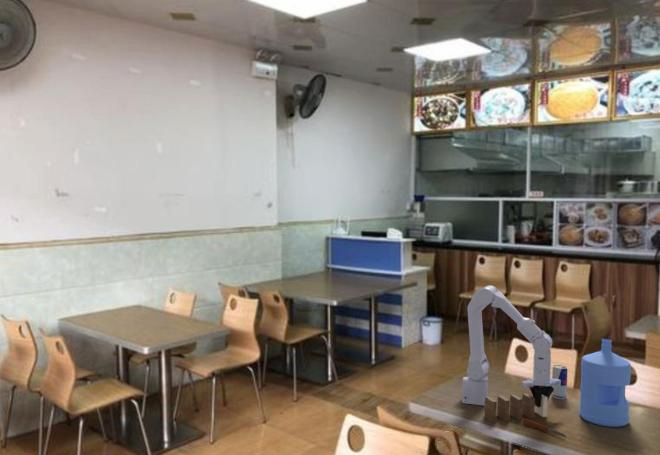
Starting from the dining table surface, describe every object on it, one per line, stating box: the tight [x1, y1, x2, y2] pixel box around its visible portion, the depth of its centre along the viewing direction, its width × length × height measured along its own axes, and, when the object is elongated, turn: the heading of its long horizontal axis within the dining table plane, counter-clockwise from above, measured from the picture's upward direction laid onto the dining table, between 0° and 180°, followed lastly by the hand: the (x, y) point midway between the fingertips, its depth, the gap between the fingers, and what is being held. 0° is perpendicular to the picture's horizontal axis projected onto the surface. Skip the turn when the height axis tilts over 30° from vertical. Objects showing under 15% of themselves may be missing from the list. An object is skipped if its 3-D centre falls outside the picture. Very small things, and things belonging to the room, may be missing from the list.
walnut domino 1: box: [484, 396, 498, 423], centre depth 192 cm, size 2×5×7 cm, turn 14°
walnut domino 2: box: [496, 395, 510, 422], centre depth 193 cm, size 2×5×7 cm, turn 14°
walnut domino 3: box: [509, 394, 523, 420], centre depth 194 cm, size 2×5×7 cm, turn 14°
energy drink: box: [551, 364, 568, 400], centre depth 214 cm, size 5×5×12 cm
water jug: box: [578, 338, 632, 428], centre depth 193 cm, size 16×16×28 cm
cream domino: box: [535, 394, 549, 418], centre depth 197 cm, size 2×5×7 cm, turn 14°
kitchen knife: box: [522, 418, 567, 438], centre depth 182 cm, size 16×1×2 cm, turn 36°
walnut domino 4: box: [521, 393, 536, 419], centre depth 195 cm, size 2×5×7 cm, turn 14°
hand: (540, 406), depth 197 cm, fingers closed
